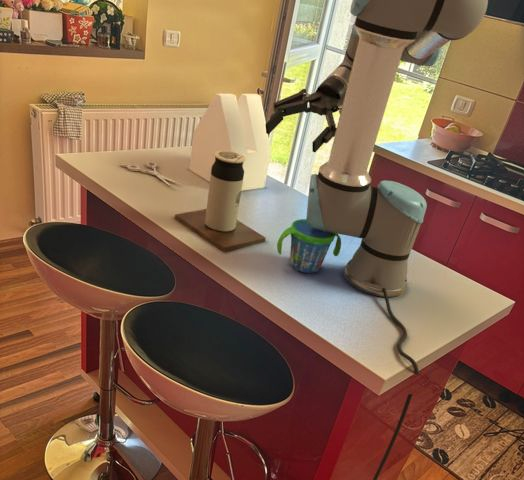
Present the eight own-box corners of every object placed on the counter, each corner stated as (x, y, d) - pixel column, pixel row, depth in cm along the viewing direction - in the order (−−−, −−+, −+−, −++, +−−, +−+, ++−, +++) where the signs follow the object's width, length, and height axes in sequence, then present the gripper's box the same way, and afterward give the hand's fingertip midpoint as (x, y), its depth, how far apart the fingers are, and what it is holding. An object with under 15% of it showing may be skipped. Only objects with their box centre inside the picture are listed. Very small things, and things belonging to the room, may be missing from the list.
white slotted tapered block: (189, 169, 174) (198, 85, 159) (227, 165, 183) (238, 85, 168) (226, 192, 163) (239, 104, 149) (264, 187, 173) (279, 104, 158)
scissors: (149, 160, 171) (191, 182, 162) (149, 162, 172) (190, 185, 162) (120, 163, 164) (163, 187, 155) (120, 166, 165) (162, 190, 155)
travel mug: (198, 224, 138) (207, 153, 128) (214, 216, 145) (223, 147, 134) (225, 235, 136) (236, 164, 126) (240, 226, 142) (252, 157, 132)
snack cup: (277, 274, 127) (286, 234, 121) (269, 253, 135) (277, 215, 129) (339, 280, 131) (351, 241, 125) (328, 259, 139) (339, 222, 133)
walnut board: (264, 241, 140) (265, 237, 140) (223, 251, 131) (224, 247, 131) (215, 211, 151) (216, 206, 150) (174, 218, 142) (174, 214, 141)
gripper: (377, 118, 138) (333, 168, 130) (295, 89, 147) (250, 134, 139) (380, 91, 132) (334, 142, 124) (294, 62, 141) (246, 108, 133)
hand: (289, 138), depth 132 cm, fingers open, 13 cm apart
